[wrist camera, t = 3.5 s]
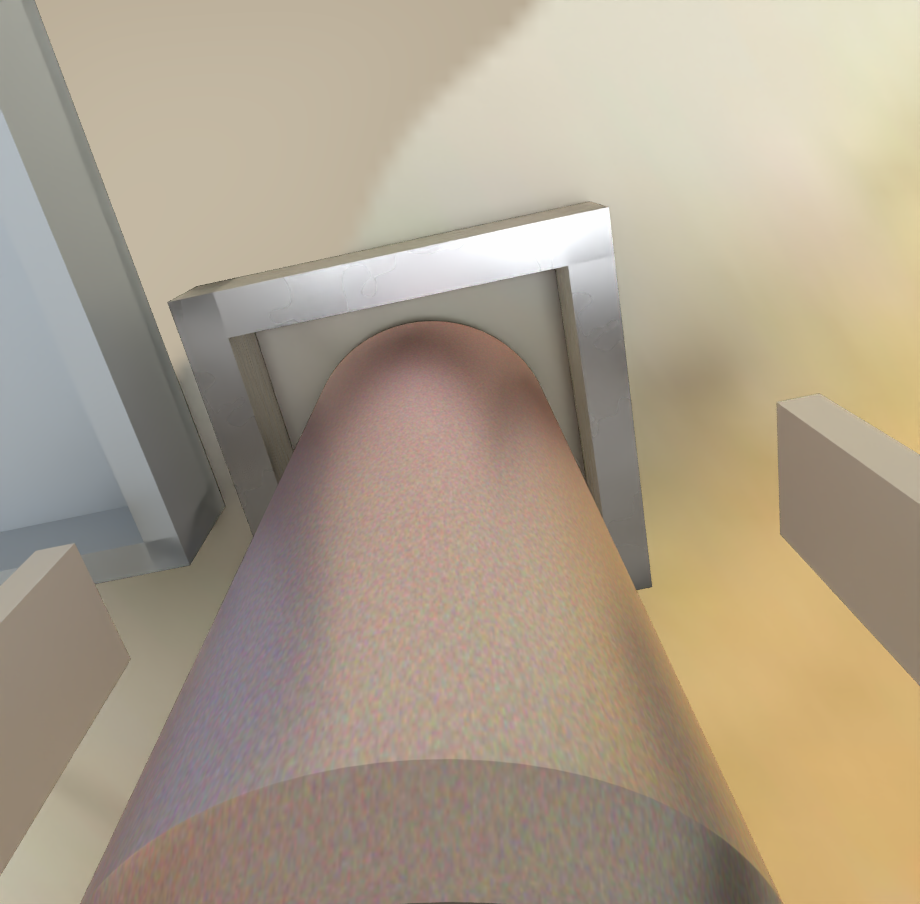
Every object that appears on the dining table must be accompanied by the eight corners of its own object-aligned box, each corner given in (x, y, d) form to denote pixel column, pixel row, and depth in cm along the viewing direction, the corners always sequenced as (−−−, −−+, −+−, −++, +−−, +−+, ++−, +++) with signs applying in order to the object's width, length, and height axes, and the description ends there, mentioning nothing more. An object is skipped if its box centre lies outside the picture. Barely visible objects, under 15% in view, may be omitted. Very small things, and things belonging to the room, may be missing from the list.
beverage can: (545, 523, 20) (810, 1391, 6) (330, 533, 20) (84, 1443, 6) (548, 310, 17) (1003, 913, 4) (306, 319, 17) (-211, 981, 3)
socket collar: (308, 609, 20) (296, 655, 19) (196, 286, 17) (167, 302, 15) (631, 547, 20) (652, 586, 18) (589, 201, 16) (609, 207, 15)
